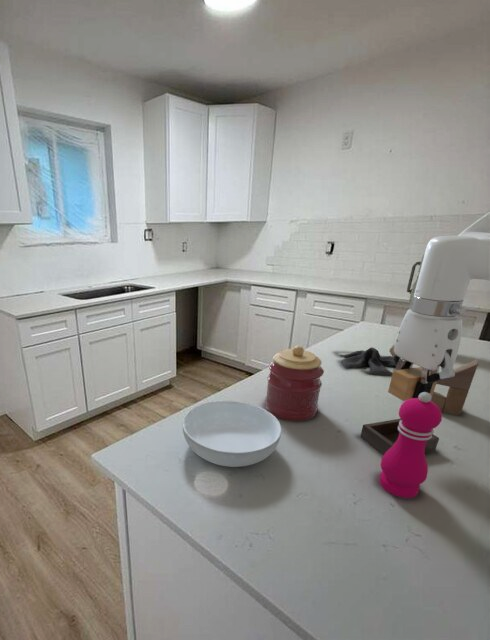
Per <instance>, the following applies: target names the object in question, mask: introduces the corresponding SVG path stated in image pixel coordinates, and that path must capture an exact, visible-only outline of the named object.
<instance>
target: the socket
mask: <svg viewBox="0 0 490 640" xmlns="http://www.w3.org/2000/svg"><path fill="white" fill-rule="evenodd" d="M400 421H401V418H396V419H395V418H394V419H389V420H384V421H377V422H372V423H371V422H370V423H364V424H362V428H361V433H360V438H361V440H362V441H365V442H366V444H368V445H369V446H371V447H372V448H373V449H375V450H376V451H377V452H378V453H379V454H381V455H382V456H384V454H385V453H386V452H387V451H388V450H389V449H390V448H391V447H392V446H393V445H394V444H395V442H396V441H397V439H398V437H399V430H398V426H399V422H400ZM439 441H440V437H439V436H437V435H435V434H434V433H433V434H432V438H431V439H429V440H427V442H426V445H425V454H426V453H427V454H429V453H433V452H435V451H436V450H437V447H438V444H439Z"/></svg>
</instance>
